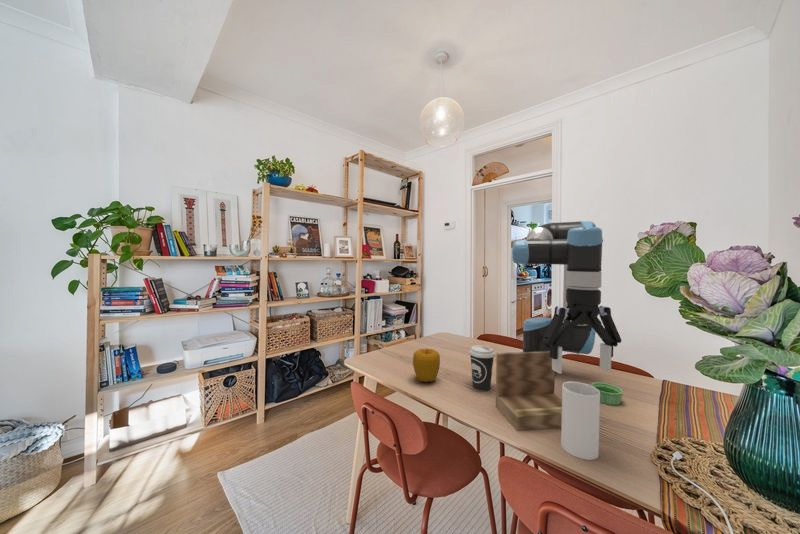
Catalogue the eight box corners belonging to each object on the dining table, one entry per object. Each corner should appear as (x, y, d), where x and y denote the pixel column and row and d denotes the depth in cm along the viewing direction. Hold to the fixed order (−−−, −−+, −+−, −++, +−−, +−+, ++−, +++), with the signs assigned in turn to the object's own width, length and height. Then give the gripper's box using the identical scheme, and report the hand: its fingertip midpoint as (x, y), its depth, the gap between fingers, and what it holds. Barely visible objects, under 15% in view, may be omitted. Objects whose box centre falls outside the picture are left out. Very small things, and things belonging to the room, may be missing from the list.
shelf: (551, 403, 97) (552, 351, 97) (580, 426, 84) (582, 365, 83) (495, 406, 95) (496, 352, 94) (516, 430, 82) (518, 368, 81)
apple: (420, 388, 108) (420, 354, 107) (408, 377, 118) (408, 346, 117) (445, 383, 112) (445, 351, 112) (431, 373, 122) (431, 343, 122)
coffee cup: (496, 394, 104) (496, 353, 103) (469, 391, 105) (469, 351, 105) (492, 382, 113) (493, 345, 113) (468, 380, 115) (468, 343, 114)
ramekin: (615, 409, 94) (615, 396, 94) (585, 397, 101) (586, 385, 101) (626, 402, 99) (627, 389, 98) (597, 391, 106) (598, 380, 106)
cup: (564, 455, 71) (565, 392, 71) (558, 436, 79) (559, 379, 79) (602, 463, 68) (604, 398, 68) (593, 443, 76) (594, 384, 76)
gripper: (614, 286, 78) (612, 363, 78) (529, 286, 75) (527, 366, 75) (640, 289, 70) (638, 374, 71) (547, 289, 67) (545, 378, 68)
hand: (581, 370), depth 73 cm, fingers open, 13 cm apart
